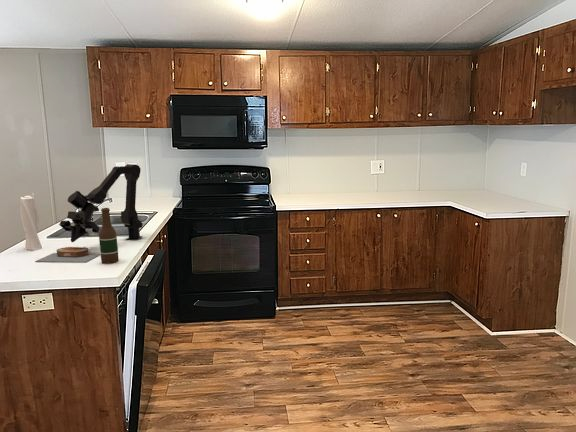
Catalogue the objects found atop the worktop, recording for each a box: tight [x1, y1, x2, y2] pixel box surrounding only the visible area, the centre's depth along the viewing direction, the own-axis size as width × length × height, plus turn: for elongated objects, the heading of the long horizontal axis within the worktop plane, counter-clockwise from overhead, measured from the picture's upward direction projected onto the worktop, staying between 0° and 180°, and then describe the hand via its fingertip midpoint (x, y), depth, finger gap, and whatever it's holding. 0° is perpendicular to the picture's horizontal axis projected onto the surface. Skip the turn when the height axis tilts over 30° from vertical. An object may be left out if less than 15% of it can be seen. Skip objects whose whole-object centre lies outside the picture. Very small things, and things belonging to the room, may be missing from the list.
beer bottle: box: [98, 207, 120, 265], centre depth 207 cm, size 8×8×24 cm
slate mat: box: [35, 252, 101, 264], centre depth 216 cm, size 14×24×1 cm, turn 84°
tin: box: [56, 246, 90, 257], centre depth 220 cm, size 15×3×8 cm
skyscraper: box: [20, 192, 43, 251], centre depth 232 cm, size 8×8×28 cm
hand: (72, 241), depth 219 cm, fingers closed
